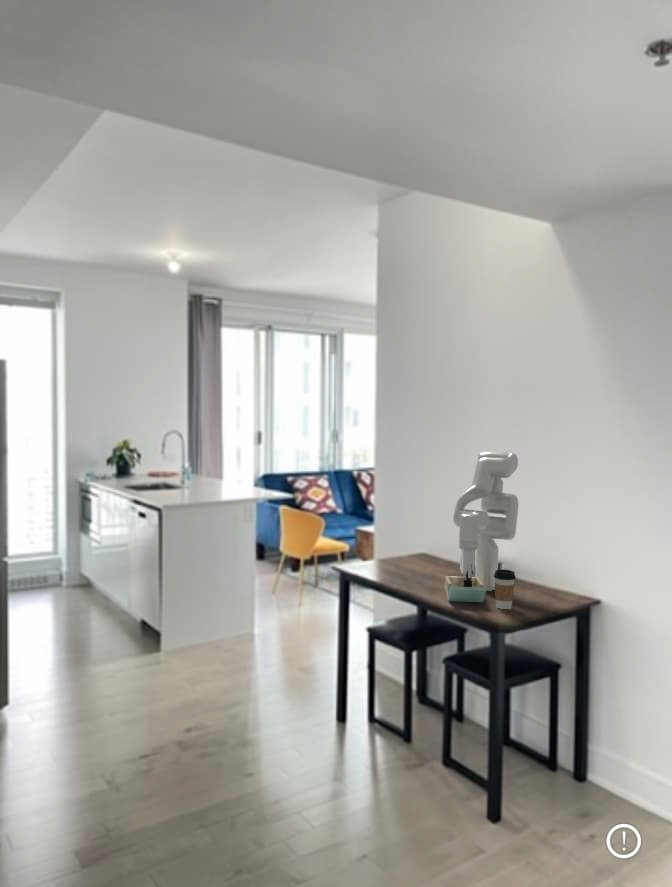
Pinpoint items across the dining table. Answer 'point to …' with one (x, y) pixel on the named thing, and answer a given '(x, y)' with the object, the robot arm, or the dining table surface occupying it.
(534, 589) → the dining table surface
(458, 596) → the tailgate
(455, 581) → the crate
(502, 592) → the coffee cup
